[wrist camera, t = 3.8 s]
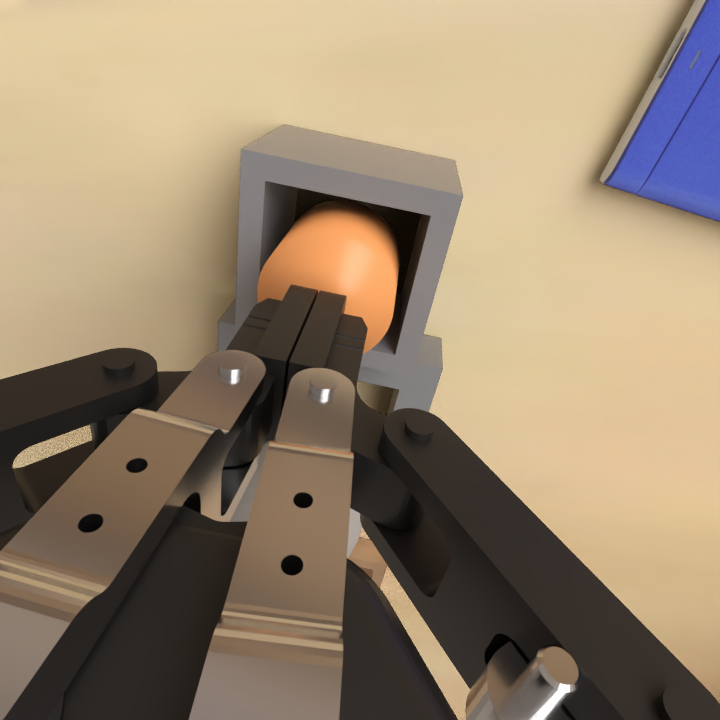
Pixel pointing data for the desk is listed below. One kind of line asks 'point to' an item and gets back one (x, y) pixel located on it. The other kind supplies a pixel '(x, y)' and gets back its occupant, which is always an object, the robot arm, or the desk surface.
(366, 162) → the bulb socket block
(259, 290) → the orange ball
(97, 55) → the desk surface
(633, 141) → the blue book
